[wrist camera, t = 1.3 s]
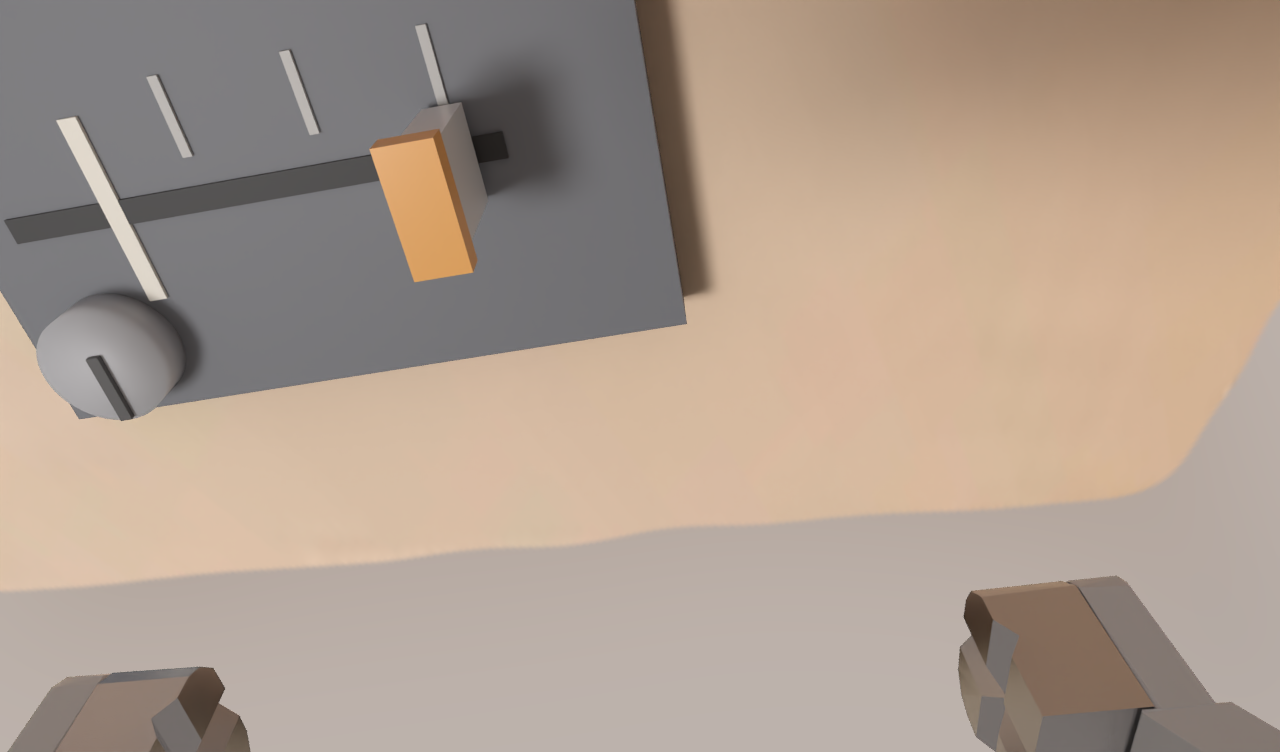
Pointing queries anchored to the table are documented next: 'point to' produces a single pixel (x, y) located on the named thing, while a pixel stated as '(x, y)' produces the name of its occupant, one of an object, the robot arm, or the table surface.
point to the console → (314, 189)
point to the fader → (433, 191)
